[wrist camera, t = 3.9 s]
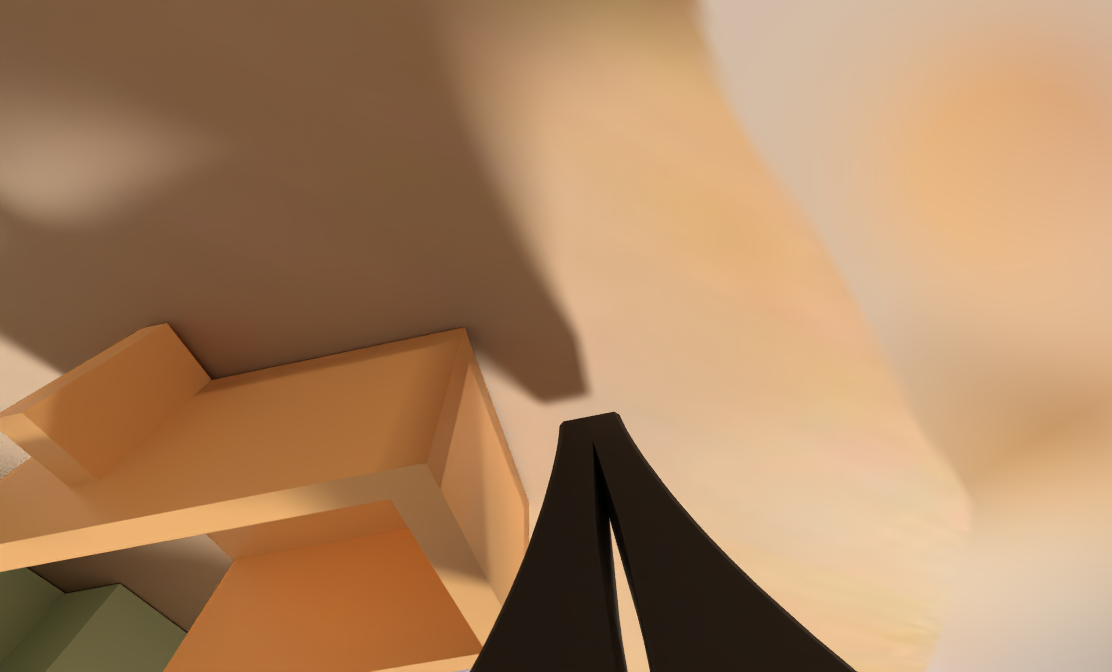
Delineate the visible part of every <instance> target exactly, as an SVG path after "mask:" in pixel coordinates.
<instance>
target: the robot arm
mask: <svg viewBox="0 0 1112 672" xmlns="http://www.w3.org/2000/svg"><path fill="white" fill-rule="evenodd" d="M609 518H610V520H609ZM610 522H611V525H612V529H613V532H614V536H615V539H616V543H617V546H618V550H619V553H620V557H621V560H622V564H623V567H624V571H625V574H626V578H627V581H628V585H629V588H630V592H631V595H632V599H633V602H634V606H635V609H636V613H637V616H638V620H639V624H640V628H641V632H642V636H643V640H644V645H645V649H646V654H647V659H648V664H649V669H650V672H857V671H855V670H854V669H853V668H852V667H851V666H850V665H848V664H847V663H846V662H845V661H844V660H842V659H841V658H840V657H839V656H838V655H836V654H835V653H834V652H833V651H832V650H830V649H829V648H828V647H827V646H826V645H824V644H823V643H822V642H821V641H820V640H818V639H817V638H816V637H815V636H814V635H813V634H811V633H810V632H809V631H808V630H807V629H806V628H805V627H804V626H803V625H801V624H800V623H799V622H798V621H797V620H796V619H795V618H794V617H793V616H791V615H790V614H789V613H788V612H787V611H786V610H785V609H784V608H783V607H781V606H780V605H779V604H778V603H777V602H776V601H775V600H774V599H773V598H771V597H770V596H769V595H768V594H767V593H766V592H765V591H764V590H763V589H761V588H760V587H759V586H758V585H757V584H756V583H755V582H754V581H753V580H752V579H751V578H750V577H749V576H748V575H747V574H746V573H745V572H744V571H743V570H742V569H741V568H740V567H739V566H738V565H737V564H736V563H735V562H734V561H732V560H731V559H730V558H729V557H728V555H727V554H726V553H725V552H724V551H723V550H722V549H721V548H720V547H719V546H718V545H717V544H716V543H715V542H714V541H713V540H712V539H711V538H710V537H709V536H708V535H707V534H706V532H705V531H704V530H703V529H702V528H701V527H700V526H699V525H698V524H697V523H696V521H695V520H694V519H693V518H692V517H691V516H690V515H689V513H688V512H687V511H686V510H685V509H684V508H683V506H682V505H681V504H680V503H679V502H678V501H677V499H676V498H675V497H674V496H673V495H672V493H671V492H670V491H669V490H668V488H667V487H666V486H665V485H664V483H663V482H662V481H661V479H660V478H659V477H658V475H657V474H656V473H655V471H654V470H653V469H652V467H651V466H650V465H649V463H648V462H647V461H646V459H645V458H644V456H643V455H642V453H641V452H640V450H639V449H638V447H637V446H636V444H635V443H634V441H633V440H632V438H631V436H630V435H629V433H628V431H627V429H626V428H625V426H624V424H623V422H622V420H621V417H620V415H619V414H617V413H616V412H611V413H605V414H600V415H595V416H590V417H584V418H579V419H574V420H569V421H564V422H563V423H562V424H561V425H560V428H559V438H558V445H557V451H556V456H555V460H554V465H553V469H552V473H551V477H550V480H549V484H548V487H547V491H546V495H545V498H544V502H543V505H542V508H541V511H540V514H539V517H538V520H537V523H536V526H535V528H534V531H533V534H532V537H531V540H530V543H529V545H528V548H527V551H526V553H525V556H524V558H523V561H522V563H521V566H520V568H519V571H518V573H517V575H516V578H515V580H514V582H513V585H512V587H511V589H510V592H509V594H508V596H507V598H506V600H505V602H504V604H503V607H502V609H501V611H500V613H499V615H498V617H497V619H496V621H495V624H494V626H493V628H492V630H491V632H490V634H489V636H488V638H487V640H486V642H485V644H484V646H483V648H482V650H481V652H480V654H479V656H478V657H477V659H476V661H475V663H474V665H473V667H472V668H471V669H465V670H459V671H453V672H628V671H627V665H626V660H625V654H624V648H623V642H622V635H621V627H620V620H619V610H618V600H617V590H616V580H615V570H614V560H613V550H612V540H611V530H610Z"/></svg>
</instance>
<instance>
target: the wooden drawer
mask: <svg viewBox="0 0 1112 672" xmlns="http://www.w3.org/2000/svg"><path fill="white" fill-rule="evenodd" d="M0 431H1V432H3V433H4V434H5V435H6V436H7V437H9V438H10V439H11V440H12V441H14V442H15V443H16V444H17V445H18V446H20V447H21V448H22V449H23V450H24V451H26V452H27V453H28V454H29V455H30V456H32V457H31V458H30V459H28V460H27V461H25V462H24V463H23V464H21V465H20V466H18V467H17V468H16V469H14V470H13V471H12V472H10V473H9V474H7V475H6V476H5V477H3V478H2V479H0V572H2V571H8V570H13V569H18V568H24V567H29V566H34V565H40V564H45V563H50V562H56V561H61V560H66V559H72V558H77V557H82V556H88V555H93V554H98V553H104V552H109V551H114V550H120V549H125V548H131V547H136V546H141V545H147V544H152V543H157V542H163V541H168V540H173V539H179V538H184V537H189V536H195V535H200V534H205V533H206V534H207V535H208V536H209V537H210V538H211V539H212V540H213V541H214V542H215V543H216V544H217V545H218V546H219V547H220V548H221V549H223V550H224V551H225V552H226V553H227V554H228V555H229V556H230V557H231V558H232V559H233V560H234V561H233V563H232V565H231V566H230V568H229V569H228V571H227V572H226V574H225V576H224V577H223V579H222V580H221V582H220V583H219V585H218V587H217V588H216V590H215V591H214V593H213V594H212V596H211V597H210V599H209V601H208V602H207V604H206V605H205V607H204V608H203V610H202V612H201V613H200V615H199V616H198V618H197V619H196V621H195V622H194V624H193V626H192V627H191V629H190V630H189V632H188V633H187V635H186V637H185V638H184V640H183V641H182V643H181V644H180V646H179V647H178V649H177V651H176V652H175V654H174V655H173V657H172V658H171V660H170V662H169V663H168V665H167V666H166V668H165V669H164V671H163V672H453V671H459V670H465V669H471V668H472V667H473V665H474V663H475V661H476V659H477V657H478V656H479V654H480V652H481V650H482V648H483V646H484V644H485V642H486V640H487V638H488V636H489V634H490V632H491V630H492V628H493V626H494V624H495V621H496V619H497V617H498V615H499V613H500V611H501V609H502V607H503V604H504V602H505V600H506V598H507V596H508V594H509V592H510V589H511V587H512V585H513V582H514V580H515V578H516V575H517V573H518V571H519V568H520V566H521V563H522V561H523V558H524V556H525V553H526V551H527V548H528V545H529V502H528V499H527V496H526V493H525V491H524V488H523V485H522V482H521V480H520V477H519V474H518V472H517V469H516V466H515V463H514V461H513V458H512V455H511V452H510V450H509V447H508V444H507V441H506V439H505V436H504V433H503V430H502V428H501V425H500V422H499V420H498V417H497V414H496V411H495V409H494V406H493V403H492V400H491V398H490V395H489V392H488V389H487V387H486V384H485V381H484V378H483V376H482V373H481V370H480V368H479V365H478V362H477V359H476V357H475V354H474V351H473V348H472V346H471V343H470V340H469V337H468V335H467V332H466V329H465V327H463V328H459V329H454V330H449V331H444V332H439V333H435V334H430V335H425V336H420V337H416V338H411V339H406V340H401V341H396V342H392V343H387V344H382V345H377V346H372V347H368V348H363V349H358V350H353V351H348V352H344V353H339V354H334V355H329V356H324V357H320V358H315V359H310V360H305V361H301V362H296V363H291V364H286V365H281V366H277V367H272V368H267V369H262V370H257V371H253V372H248V373H243V374H238V375H233V376H229V377H224V378H219V379H214V380H211V378H210V377H209V376H208V375H207V373H206V372H205V371H204V370H203V368H202V367H201V366H200V364H199V363H198V362H197V361H196V359H195V358H194V357H193V356H192V354H191V353H190V352H189V350H188V349H187V348H186V347H185V345H184V344H183V343H182V342H181V340H180V339H179V338H178V337H177V335H176V334H175V333H174V331H173V330H172V329H171V328H170V326H169V325H168V324H167V323H164V324H160V325H155V326H151V327H146V328H142V329H140V330H138V331H137V332H135V333H133V334H132V335H130V336H128V337H127V338H125V339H123V340H121V341H120V342H118V343H116V344H115V345H113V346H111V347H110V348H108V349H106V350H105V351H103V352H101V353H100V354H98V355H96V356H95V357H93V358H91V359H89V360H88V361H86V362H84V363H83V364H81V365H79V366H78V367H76V368H74V369H73V370H71V371H69V372H68V373H66V374H64V375H63V376H61V377H59V378H57V379H56V380H54V381H52V382H51V383H49V384H47V385H46V386H44V387H42V388H41V389H39V390H37V391H36V392H34V393H32V394H31V395H29V396H27V397H26V398H24V399H22V400H20V401H19V402H17V403H15V404H14V405H12V406H10V407H9V408H7V409H5V410H4V411H2V412H0Z"/></svg>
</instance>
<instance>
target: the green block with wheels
mask: <svg viewBox="0 0 1112 672" xmlns="http://www.w3.org/2000/svg"><path fill="white" fill-rule="evenodd" d="M186 635H187V633H186V632H185V631H183V630H182V629H181V628H179V627H178V626H177V625H175V624H174V623H172V622H171V621H170V620H168V619H167V618H166V617H164V616H163V615H162V614H160V613H159V612H158V611H156V610H155V609H153V608H152V607H151V606H149V605H148V604H147V603H145V602H144V601H143V600H141V599H140V598H139V597H137V596H136V595H135V594H133V593H132V592H130V591H129V590H128V589H126V588H125V587H124V586H122V585H121V584H115V585H110V586H104V587H99V588H93V589H88V590H82V591H77V592H71V593H66V594H65V593H64V592H62V591H61V590H59V589H58V588H56V587H55V586H53V585H52V584H50V583H49V582H47V581H46V580H44V579H43V578H41V577H40V576H38V575H37V574H35V573H34V572H32V571H31V570H29V569H28V568H26V567H24V568H18V569H13V570H8V571H2V572H0V672H163V671H164V669H165V668H166V666H167V665H168V663H169V662H170V660H171V658H172V657H173V655H174V654H175V652H176V651H177V649H178V647H179V646H180V644H181V643H182V641H183V640H184V638H185V637H186Z"/></svg>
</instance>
